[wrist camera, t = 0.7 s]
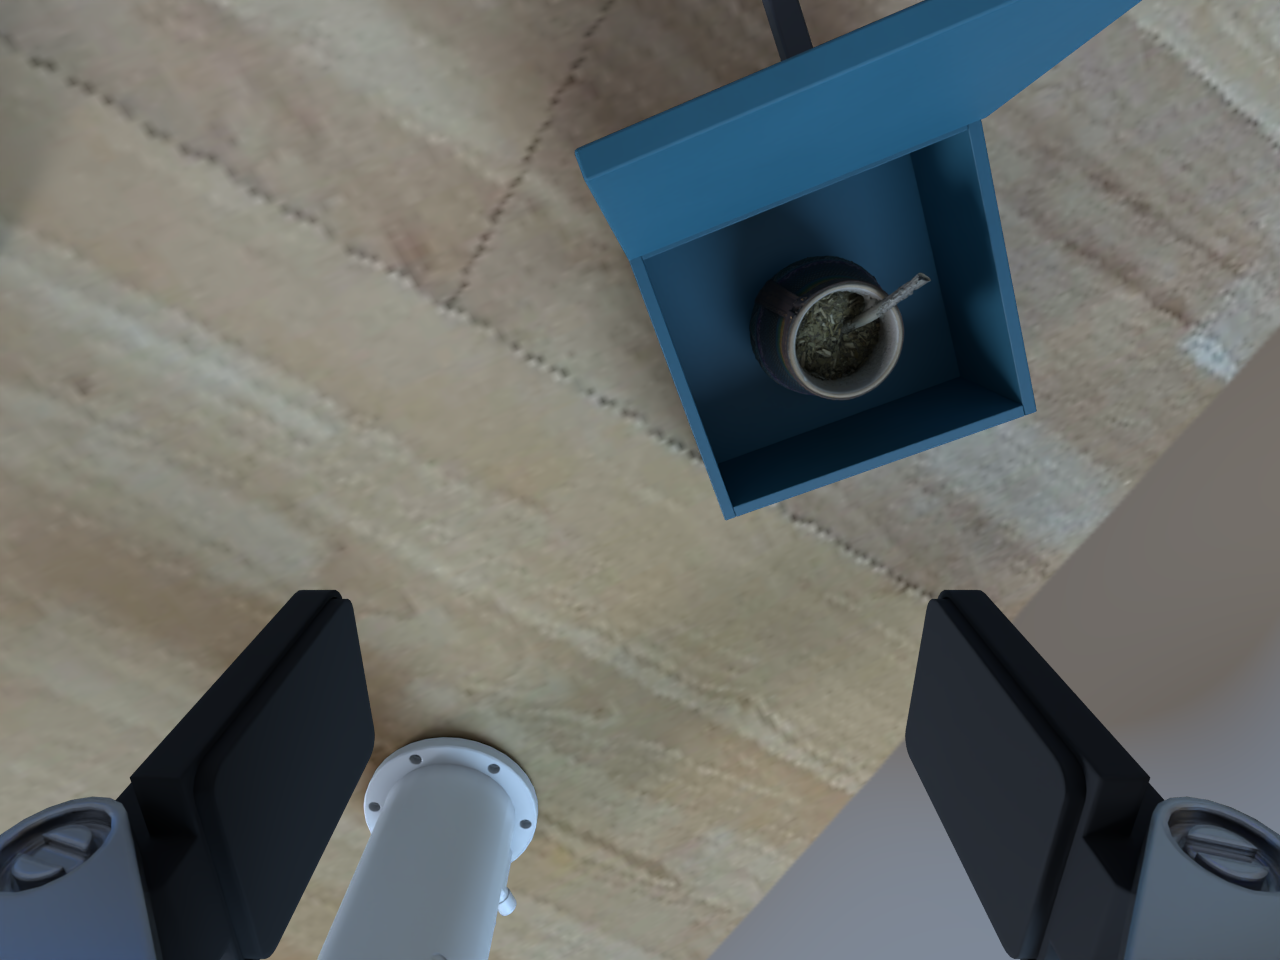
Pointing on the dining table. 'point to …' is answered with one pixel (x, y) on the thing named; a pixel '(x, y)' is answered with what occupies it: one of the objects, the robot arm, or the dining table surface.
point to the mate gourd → (828, 327)
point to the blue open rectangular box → (894, 253)
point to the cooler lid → (827, 110)
